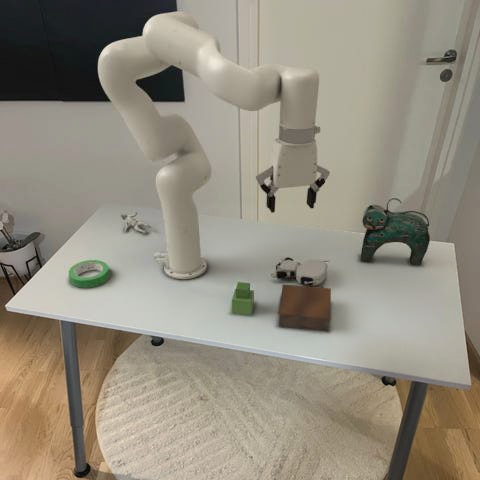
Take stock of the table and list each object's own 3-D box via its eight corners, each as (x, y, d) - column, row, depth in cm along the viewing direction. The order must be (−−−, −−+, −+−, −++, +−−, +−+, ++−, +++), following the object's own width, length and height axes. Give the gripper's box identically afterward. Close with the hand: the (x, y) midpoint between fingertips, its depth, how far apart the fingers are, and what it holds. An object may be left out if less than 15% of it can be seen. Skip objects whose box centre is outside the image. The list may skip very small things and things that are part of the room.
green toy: (232, 313, 120) (231, 290, 115) (235, 302, 124) (235, 279, 119) (251, 315, 119) (251, 292, 115) (253, 303, 123) (254, 281, 119)
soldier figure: (138, 240, 153) (111, 222, 155) (144, 243, 157) (117, 226, 160) (151, 220, 152) (123, 202, 155) (156, 224, 157) (129, 207, 159)
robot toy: (268, 285, 131) (320, 294, 126) (268, 272, 129) (320, 280, 123) (282, 264, 140) (331, 272, 135) (282, 251, 137) (332, 258, 132)
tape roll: (109, 265, 139) (107, 257, 137) (110, 285, 130) (108, 277, 129) (71, 269, 137) (69, 262, 135) (69, 290, 128) (67, 282, 127)
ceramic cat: (355, 262, 139) (366, 200, 127) (355, 252, 144) (365, 190, 132) (423, 268, 137) (442, 205, 124) (420, 257, 142) (438, 195, 129)
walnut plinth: (277, 327, 115) (278, 312, 113) (281, 298, 125) (282, 284, 122) (328, 332, 114) (330, 317, 111) (328, 302, 124) (330, 288, 121)
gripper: (327, 126, 104) (319, 198, 114) (252, 131, 100) (251, 205, 111) (340, 136, 98) (330, 211, 108) (262, 142, 95) (259, 218, 105)
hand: (290, 208), depth 110 cm, fingers open, 9 cm apart
